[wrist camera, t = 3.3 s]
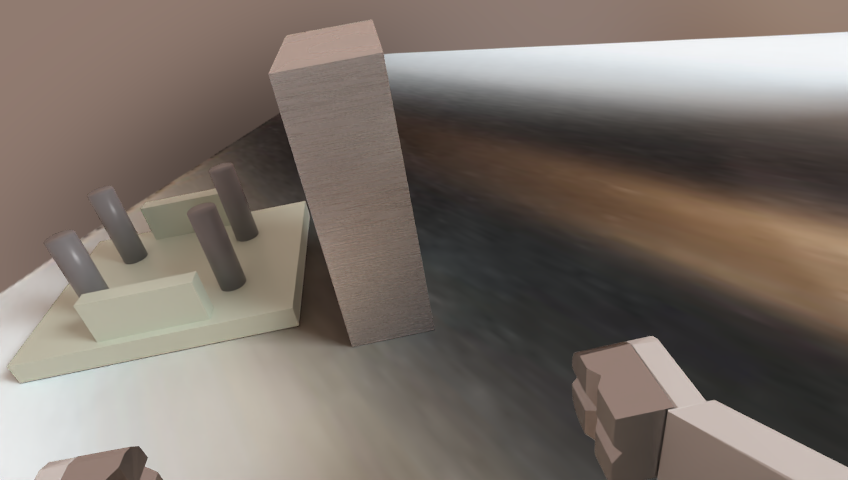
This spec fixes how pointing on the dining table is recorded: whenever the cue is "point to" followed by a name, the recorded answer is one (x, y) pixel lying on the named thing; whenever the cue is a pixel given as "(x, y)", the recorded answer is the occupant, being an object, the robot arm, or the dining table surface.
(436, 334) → the dining table surface
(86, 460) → the robot arm
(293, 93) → the block
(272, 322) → the peg board
